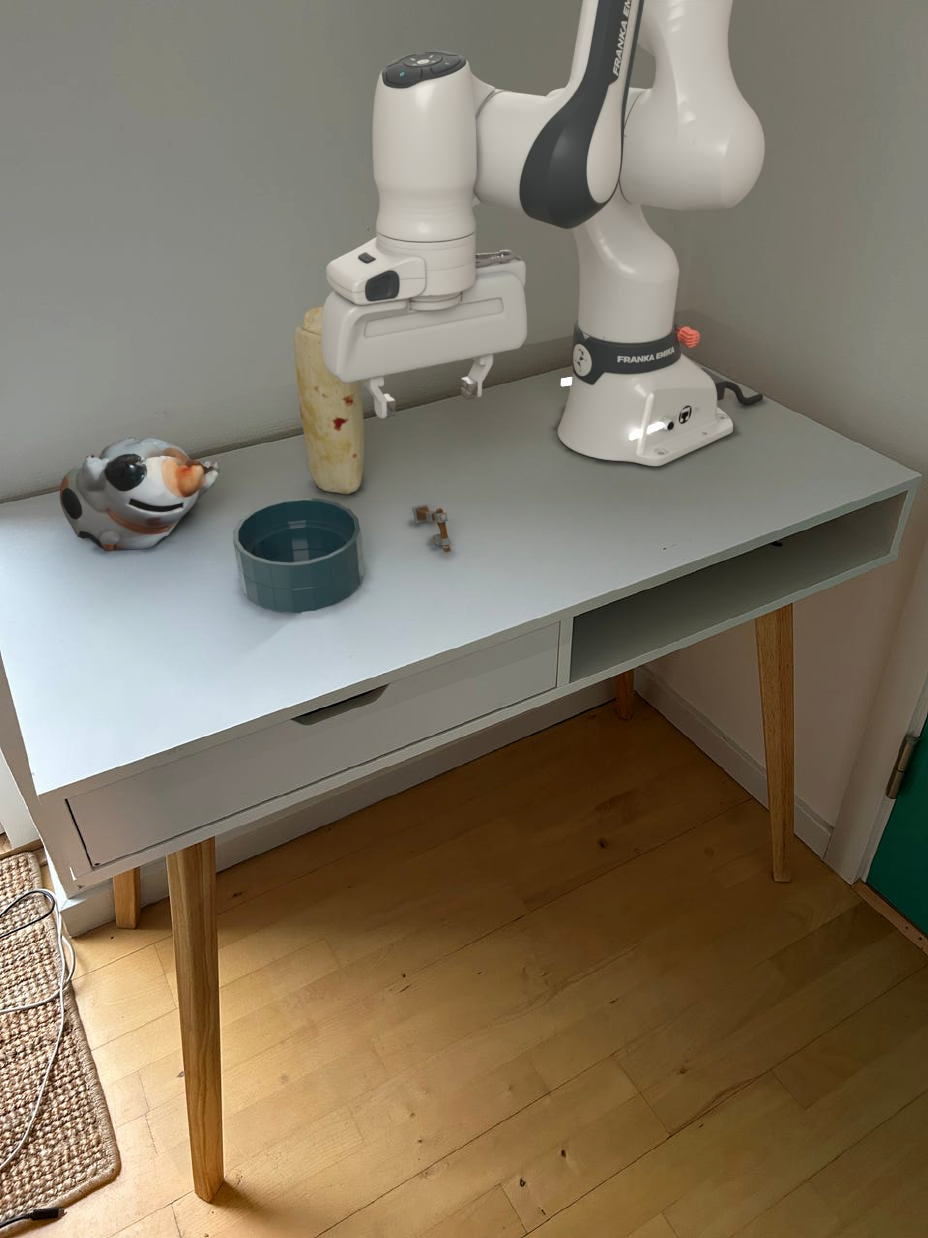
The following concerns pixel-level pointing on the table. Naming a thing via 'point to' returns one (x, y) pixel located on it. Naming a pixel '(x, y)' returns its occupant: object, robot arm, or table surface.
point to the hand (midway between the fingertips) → (429, 405)
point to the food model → (328, 413)
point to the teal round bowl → (299, 554)
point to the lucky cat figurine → (133, 492)
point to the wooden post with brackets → (439, 516)
